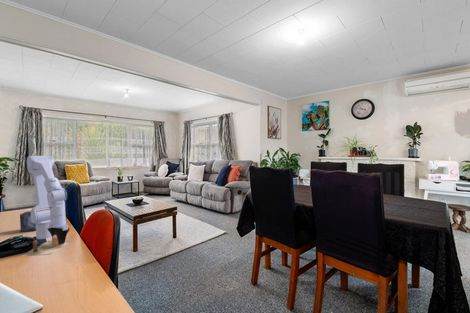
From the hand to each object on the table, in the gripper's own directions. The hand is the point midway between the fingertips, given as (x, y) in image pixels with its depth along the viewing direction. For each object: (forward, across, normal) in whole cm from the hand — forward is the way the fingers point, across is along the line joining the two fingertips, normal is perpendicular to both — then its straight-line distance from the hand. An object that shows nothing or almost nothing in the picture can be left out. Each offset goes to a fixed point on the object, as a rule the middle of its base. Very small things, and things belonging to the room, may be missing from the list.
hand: (59, 242), depth 107 cm
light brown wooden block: (+1, 0, 0) cm, 1 cm away
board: (+2, 0, -4) cm, 4 cm away
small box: (+2, -41, +4) cm, 42 cm away
